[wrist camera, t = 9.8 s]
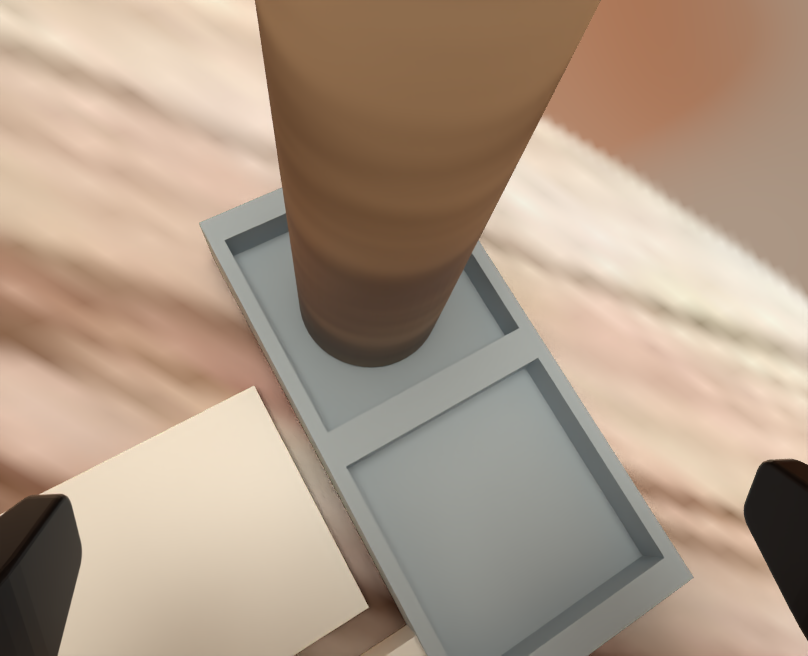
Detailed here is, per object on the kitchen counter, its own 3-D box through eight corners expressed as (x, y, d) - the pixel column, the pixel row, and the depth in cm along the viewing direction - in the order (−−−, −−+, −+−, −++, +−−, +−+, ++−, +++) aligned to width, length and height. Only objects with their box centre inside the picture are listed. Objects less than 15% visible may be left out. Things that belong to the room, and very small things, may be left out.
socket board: (648, 571, 19) (693, 577, 16) (452, 711, 17) (473, 740, 15) (400, 174, 22) (410, 133, 19) (212, 257, 20) (198, 223, 18)
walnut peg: (451, 355, 18) (756, -82, 5) (310, 377, 18) (246, -59, 5) (423, 228, 20) (614, -390, 6) (290, 245, 19) (194, -409, 6)
